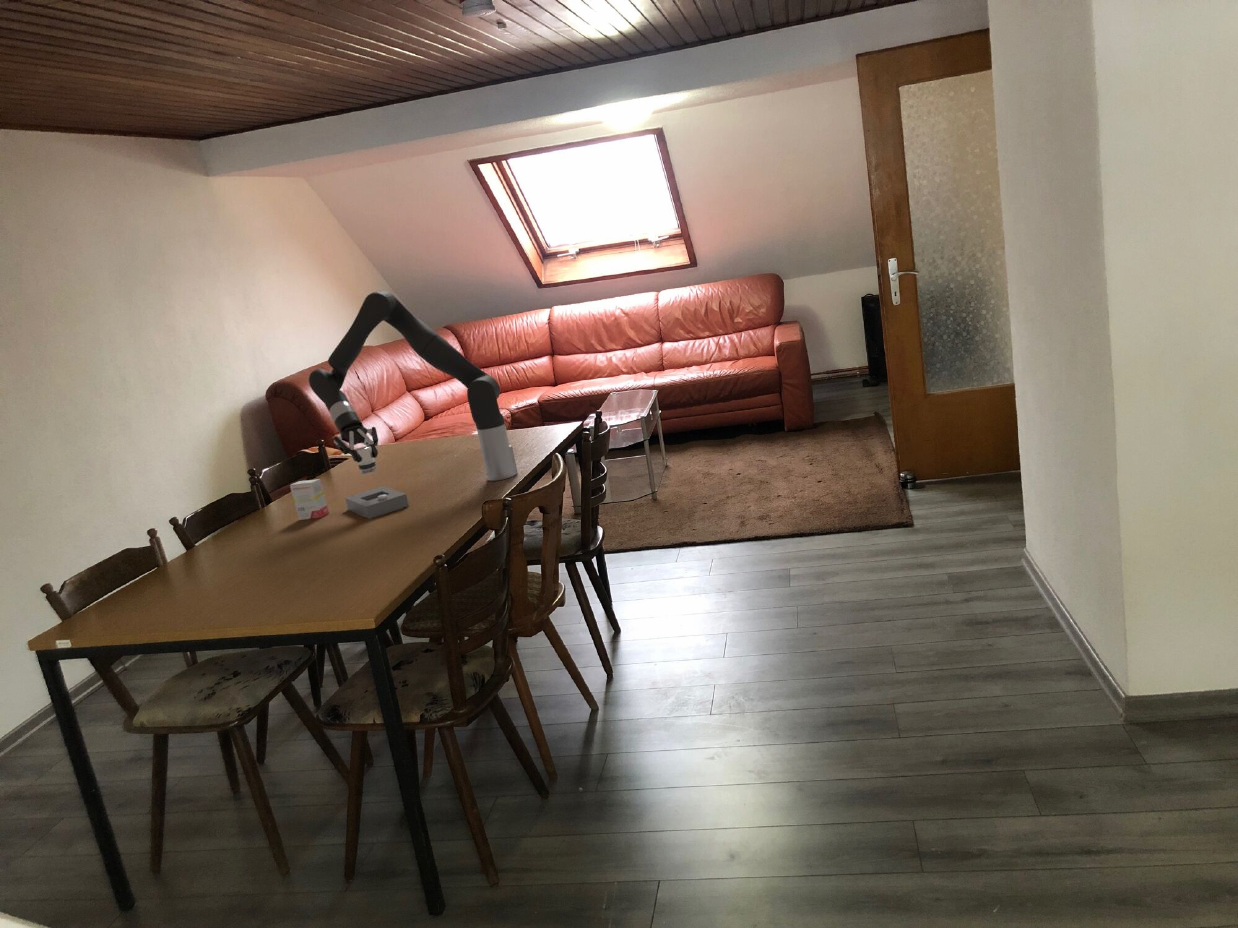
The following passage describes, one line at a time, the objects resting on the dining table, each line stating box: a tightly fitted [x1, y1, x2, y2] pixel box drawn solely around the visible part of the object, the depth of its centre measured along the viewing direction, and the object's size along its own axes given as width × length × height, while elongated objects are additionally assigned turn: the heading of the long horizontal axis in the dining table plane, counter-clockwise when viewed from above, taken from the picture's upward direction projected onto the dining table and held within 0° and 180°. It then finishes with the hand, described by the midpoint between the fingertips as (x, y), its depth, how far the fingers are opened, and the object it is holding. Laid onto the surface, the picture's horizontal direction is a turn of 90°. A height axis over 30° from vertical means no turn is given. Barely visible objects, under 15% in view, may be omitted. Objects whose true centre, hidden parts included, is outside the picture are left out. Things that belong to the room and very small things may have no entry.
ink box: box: [289, 478, 330, 521], centre depth 303 cm, size 9×5×12 cm, turn 74°
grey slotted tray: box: [344, 485, 410, 520], centre depth 300 cm, size 13×20×5 cm, turn 35°
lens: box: [354, 445, 378, 474], centre depth 297 cm, size 5×5×8 cm
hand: (367, 458), depth 295 cm, fingers closed on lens, 5 cm apart
